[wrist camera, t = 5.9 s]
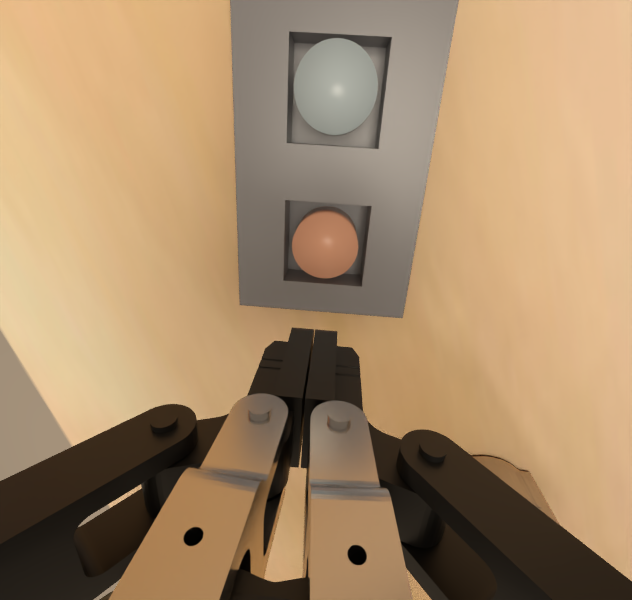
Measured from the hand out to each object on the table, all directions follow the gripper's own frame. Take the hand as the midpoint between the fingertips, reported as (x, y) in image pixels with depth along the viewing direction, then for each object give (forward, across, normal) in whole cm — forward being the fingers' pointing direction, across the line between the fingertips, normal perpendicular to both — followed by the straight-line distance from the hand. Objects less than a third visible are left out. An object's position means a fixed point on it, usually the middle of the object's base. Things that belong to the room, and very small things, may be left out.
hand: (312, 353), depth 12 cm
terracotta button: (+16, 0, 0) cm, 16 cm away
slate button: (+14, 0, -9) cm, 17 cm away
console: (+16, 0, -9) cm, 19 cm away
